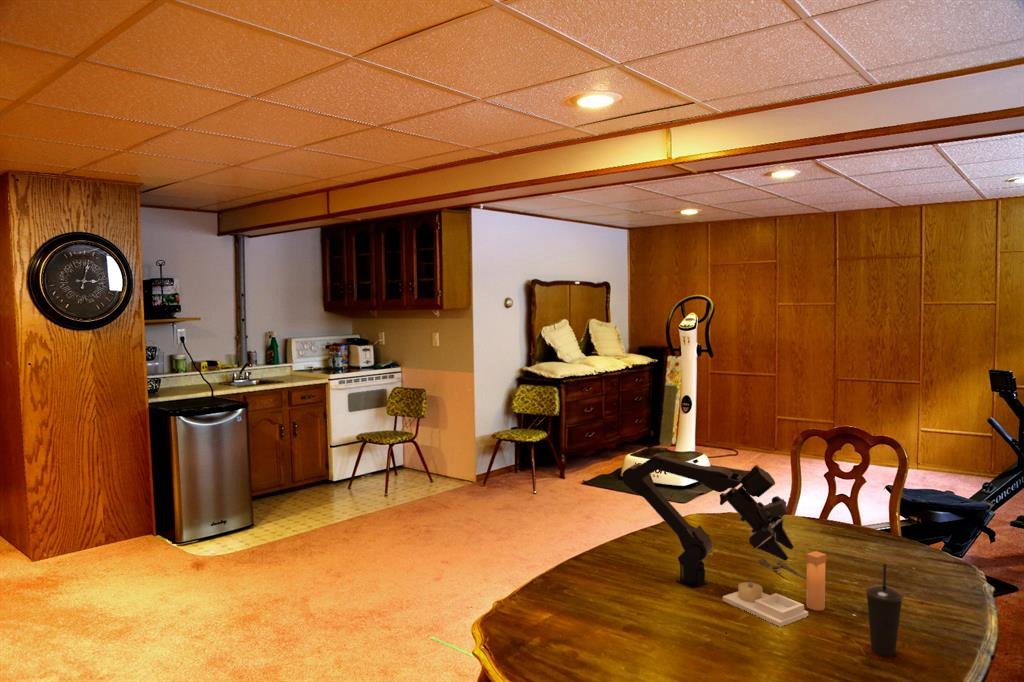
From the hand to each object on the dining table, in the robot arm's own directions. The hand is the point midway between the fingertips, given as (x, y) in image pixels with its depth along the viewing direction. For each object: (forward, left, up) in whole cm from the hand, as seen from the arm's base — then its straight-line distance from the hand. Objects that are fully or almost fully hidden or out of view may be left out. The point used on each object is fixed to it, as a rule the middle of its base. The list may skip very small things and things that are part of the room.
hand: (789, 553), depth 185 cm
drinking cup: (+28, -4, -13) cm, 31 cm away
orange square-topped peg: (+6, +3, -13) cm, 14 cm away
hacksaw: (-11, +18, -14) cm, 25 cm away
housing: (-1, -9, -13) cm, 16 cm away
